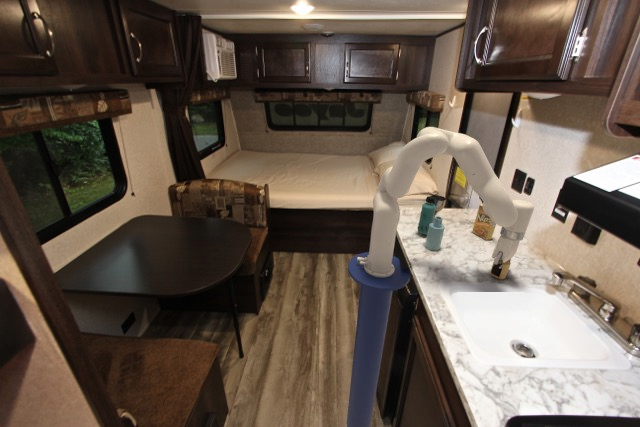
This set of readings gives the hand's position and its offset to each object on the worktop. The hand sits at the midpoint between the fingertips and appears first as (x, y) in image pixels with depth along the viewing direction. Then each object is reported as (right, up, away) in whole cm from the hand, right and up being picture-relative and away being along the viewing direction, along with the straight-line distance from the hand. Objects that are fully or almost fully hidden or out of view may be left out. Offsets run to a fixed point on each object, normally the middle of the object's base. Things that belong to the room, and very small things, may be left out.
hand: (498, 271), depth 116 cm
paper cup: (0, -1, +1) cm, 1 cm away
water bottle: (-19, +8, +19) cm, 28 cm away
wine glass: (-11, +18, +41) cm, 46 cm away
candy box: (+10, +12, +30) cm, 34 cm away
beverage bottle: (-19, +13, +30) cm, 38 cm away
